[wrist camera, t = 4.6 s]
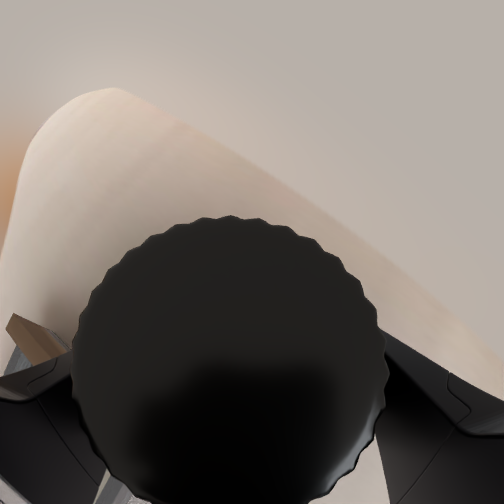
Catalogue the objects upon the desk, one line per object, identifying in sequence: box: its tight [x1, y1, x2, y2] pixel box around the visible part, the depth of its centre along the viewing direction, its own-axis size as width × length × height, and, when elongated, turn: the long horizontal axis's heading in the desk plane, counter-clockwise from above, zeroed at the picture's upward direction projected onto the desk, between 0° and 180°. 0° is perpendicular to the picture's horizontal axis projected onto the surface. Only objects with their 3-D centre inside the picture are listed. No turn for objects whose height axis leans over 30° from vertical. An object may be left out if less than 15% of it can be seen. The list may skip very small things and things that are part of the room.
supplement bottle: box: [69, 215, 390, 504], centre depth 9 cm, size 7×7×12 cm
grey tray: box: [3, 313, 132, 504], centre depth 11 cm, size 13×11×4 cm
